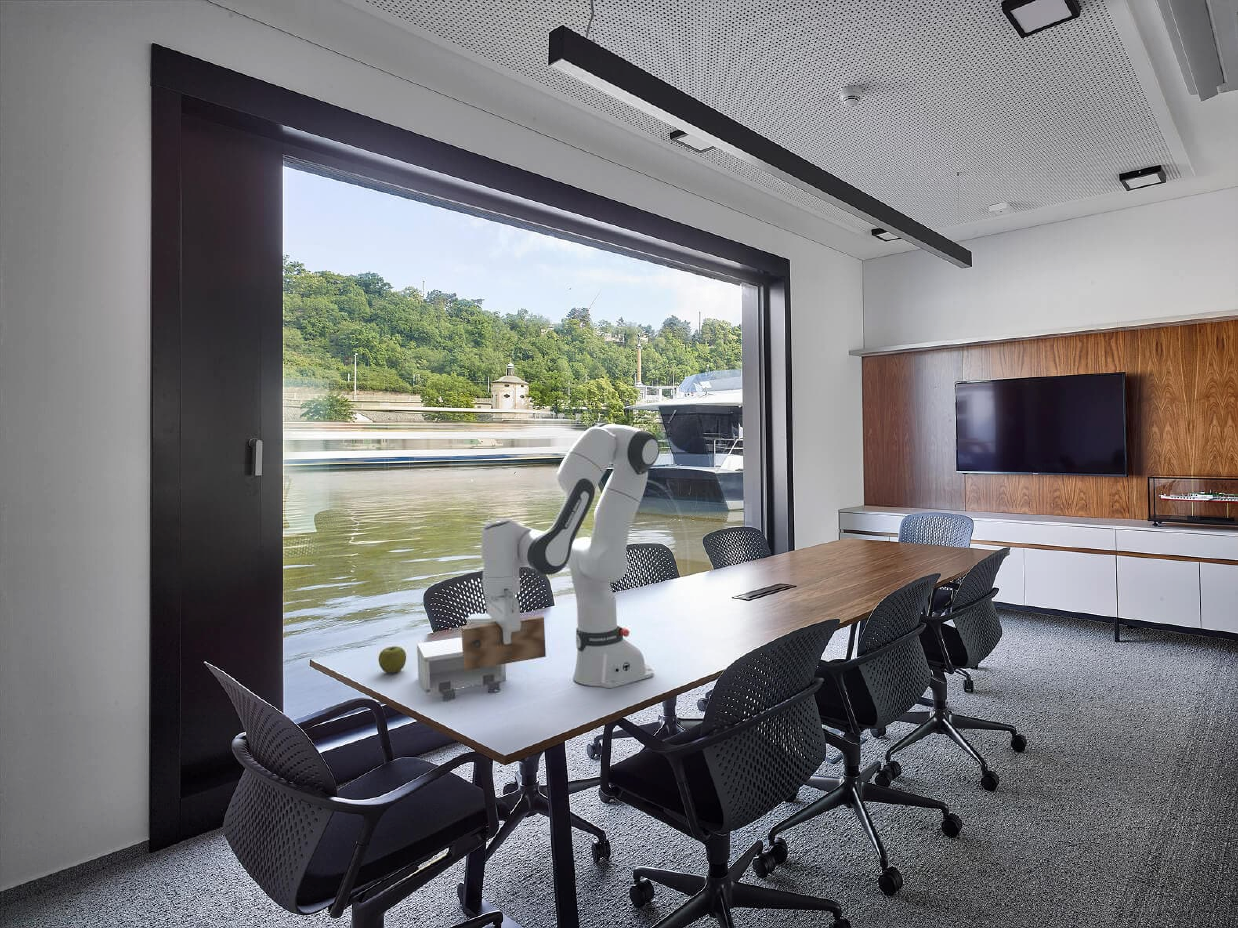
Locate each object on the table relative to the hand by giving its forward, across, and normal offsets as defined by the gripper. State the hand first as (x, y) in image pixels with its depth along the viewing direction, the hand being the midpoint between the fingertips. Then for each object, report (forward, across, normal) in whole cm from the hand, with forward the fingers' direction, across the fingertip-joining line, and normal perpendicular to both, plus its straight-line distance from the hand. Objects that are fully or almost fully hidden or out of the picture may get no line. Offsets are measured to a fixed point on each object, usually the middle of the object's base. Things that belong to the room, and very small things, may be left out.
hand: (504, 640), depth 174 cm
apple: (+18, +46, +23) cm, 54 cm away
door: (+5, 0, 0) cm, 5 cm away
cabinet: (+18, +27, +6) cm, 33 cm away
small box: (+19, +47, -4) cm, 51 cm away
